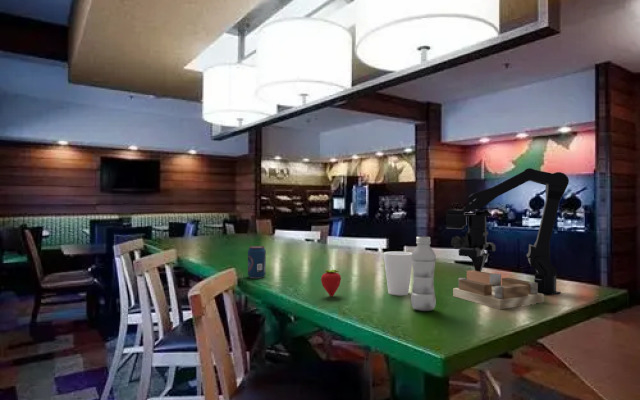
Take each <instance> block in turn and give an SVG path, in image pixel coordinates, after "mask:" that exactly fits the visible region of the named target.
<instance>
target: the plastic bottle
mask: <svg viewBox="0 0 640 400" xmlns="http://www.w3.org/2000/svg"><path fill="white" fill-rule="evenodd" d="M415 240H416V242H415V243H416V247H415V248H414V249H413V251H412V252H411V253H412V256H411V257H412V275H413V276H412V277H413V278H412V281H413V282H412V292H411V294H410V303H411V307H412V308H413V309H414V310H416V311H420V312H426V311H427V312H429V311H433V310H434V309H435V308H436V303H437V302H436V301H437V299H436V294H435V285H434V284H435V283H434V279H435V278H434V276H435V266H436V259H437V257H436V256H437V255H436V253H435V251H434V250H433V248H432V247H431V246H430V245H431V243H432V242H431V237H430V236H416V239H415Z"/></svg>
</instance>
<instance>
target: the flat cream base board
mask: <svg viewBox="0 0 640 400" xmlns="http://www.w3.org/2000/svg"><path fill="white" fill-rule="evenodd" d="M452 292H453V293H452V295H453V297H454V298H455V297H456V298H459V299H461V300H465V301H469V302H473V303H477V304H480V305H484V306H487V307H490V308H495V309H497V310H503V309H505V310H506V309H510V308H511V309H512V308H517V306H518V307H523V306H522V305H525V306H531V305H530V304H532V305H537V304H536V303H539V304H544V303H545V297H544V296H545V294H540V293H538V283H536V282H534V281H528V280H522V279H517V278H512V277H501V285H492V284H487V283H483V282H478V281H474V280H469V279H467V277H466V278H465V277H458V287H454V288H452ZM543 302H544V303H543Z"/></svg>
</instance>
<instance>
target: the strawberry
mask: <svg viewBox="0 0 640 400" xmlns="http://www.w3.org/2000/svg"><path fill="white" fill-rule="evenodd" d="M329 266H330V267H331V269H324V273H323V274H322V275H321V279H320V280H321V284H322V287H323V288H324V290H325V292H327V294H328V295H329V297H333V296H334V295H335V294H336V292H337V290H338V288H339V287H340V284H341V280H342V277H341V274H340V273H339V270H337V269H333V267H332V265H330V263H329Z"/></svg>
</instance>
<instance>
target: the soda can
mask: <svg viewBox="0 0 640 400" xmlns="http://www.w3.org/2000/svg"><path fill="white" fill-rule="evenodd" d="M266 256H267V253H266V249H265V246H263V245H252V246H249V247H248V250H247V275H248V277H249V278H250V279H262V277H263V278H264V277H265V276H266V274H267V272H266V271H267V269H266V267H267V266H266V262H267V260H266V258H267V257H266Z"/></svg>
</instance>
